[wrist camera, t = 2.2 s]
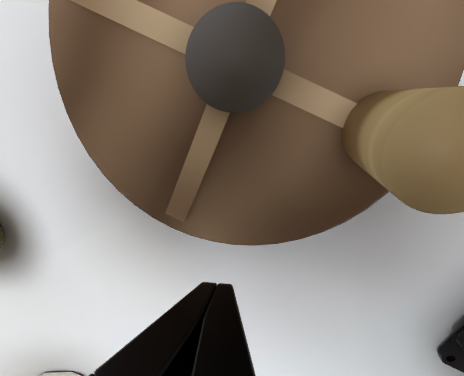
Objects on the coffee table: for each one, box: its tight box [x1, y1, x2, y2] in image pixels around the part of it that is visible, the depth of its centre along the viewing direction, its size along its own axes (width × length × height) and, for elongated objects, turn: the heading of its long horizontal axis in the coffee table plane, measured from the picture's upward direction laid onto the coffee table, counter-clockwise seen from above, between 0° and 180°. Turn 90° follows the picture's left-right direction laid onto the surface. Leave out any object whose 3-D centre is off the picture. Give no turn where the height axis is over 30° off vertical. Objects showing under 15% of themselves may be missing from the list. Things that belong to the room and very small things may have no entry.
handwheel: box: [49, 0, 464, 245], centre depth 9 cm, size 16×16×6 cm
